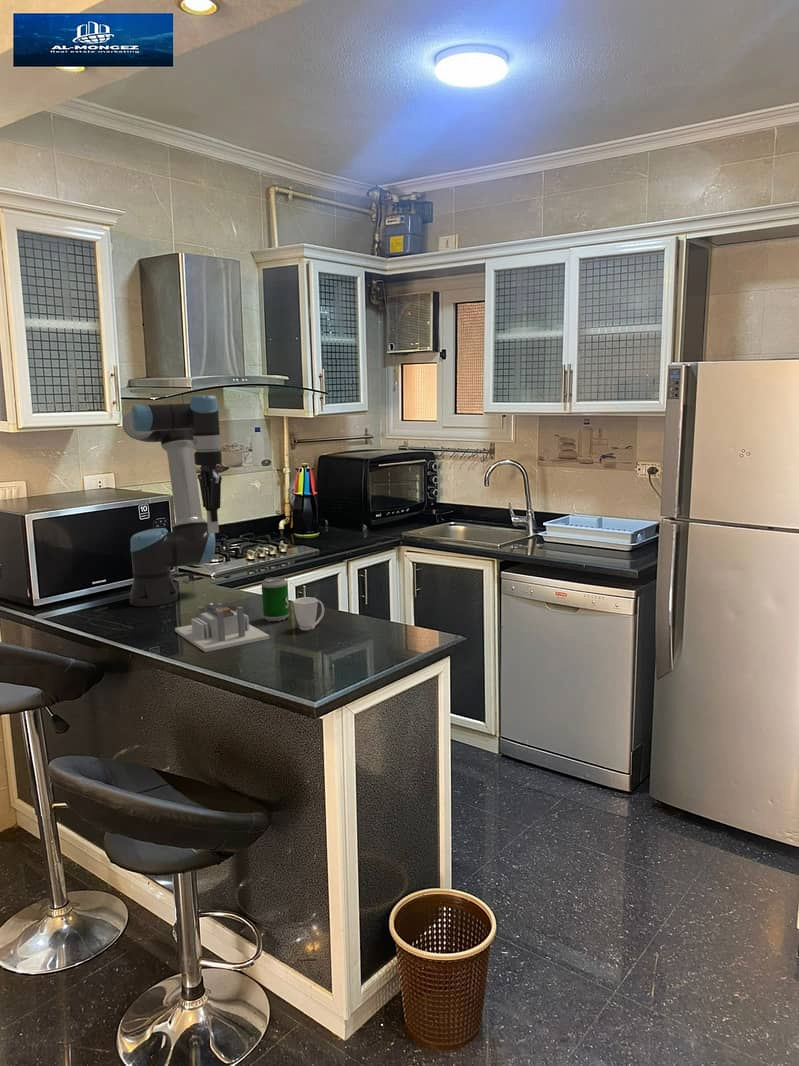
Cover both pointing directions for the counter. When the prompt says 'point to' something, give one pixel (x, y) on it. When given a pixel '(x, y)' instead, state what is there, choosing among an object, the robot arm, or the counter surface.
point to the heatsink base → (220, 630)
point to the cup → (307, 612)
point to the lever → (216, 607)
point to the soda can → (275, 599)
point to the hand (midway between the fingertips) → (213, 532)
